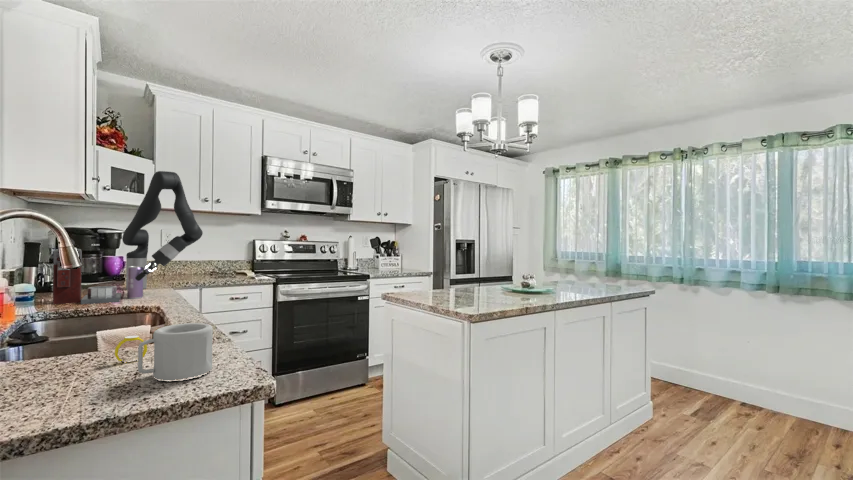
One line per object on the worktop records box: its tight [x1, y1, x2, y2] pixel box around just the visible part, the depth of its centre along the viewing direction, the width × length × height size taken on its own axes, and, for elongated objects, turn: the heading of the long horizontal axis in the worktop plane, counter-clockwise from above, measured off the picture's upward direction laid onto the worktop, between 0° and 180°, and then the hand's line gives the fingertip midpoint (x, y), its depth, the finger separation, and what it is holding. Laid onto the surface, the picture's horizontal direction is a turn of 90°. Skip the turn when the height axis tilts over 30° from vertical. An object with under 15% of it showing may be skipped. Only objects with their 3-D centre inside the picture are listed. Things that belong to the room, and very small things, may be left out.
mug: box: [137, 322, 214, 380], centre depth 83 cm, size 14×11×10 cm
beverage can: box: [126, 266, 144, 300], centre depth 187 cm, size 6×6×15 cm
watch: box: [114, 335, 148, 362], centre depth 92 cm, size 6×3×6 cm, turn 139°
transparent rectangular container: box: [80, 285, 122, 305], centre depth 179 cm, size 18×13×6 cm
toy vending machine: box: [52, 238, 83, 305], centre depth 172 cm, size 9×11×28 cm
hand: (136, 278), depth 187 cm, fingers open, 8 cm apart
